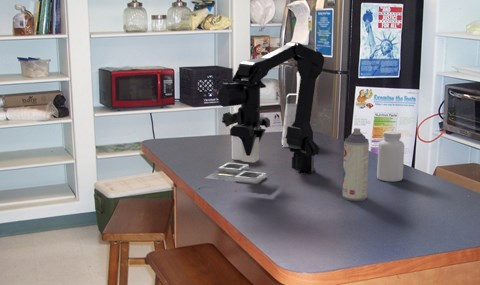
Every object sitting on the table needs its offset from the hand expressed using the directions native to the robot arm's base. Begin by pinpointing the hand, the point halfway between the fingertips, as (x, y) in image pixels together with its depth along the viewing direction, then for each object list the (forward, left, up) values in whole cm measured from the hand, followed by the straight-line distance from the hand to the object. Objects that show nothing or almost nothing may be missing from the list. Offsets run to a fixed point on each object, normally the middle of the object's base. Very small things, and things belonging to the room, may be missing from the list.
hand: (250, 154), depth 191 cm
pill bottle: (-39, -21, -10) cm, 45 cm away
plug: (0, 0, -2) cm, 2 cm away
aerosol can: (-33, +3, -10) cm, 34 cm away
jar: (+13, -26, -10) cm, 30 cm away
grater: (+4, -59, -10) cm, 60 cm away
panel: (+5, -4, -9) cm, 11 cm away
